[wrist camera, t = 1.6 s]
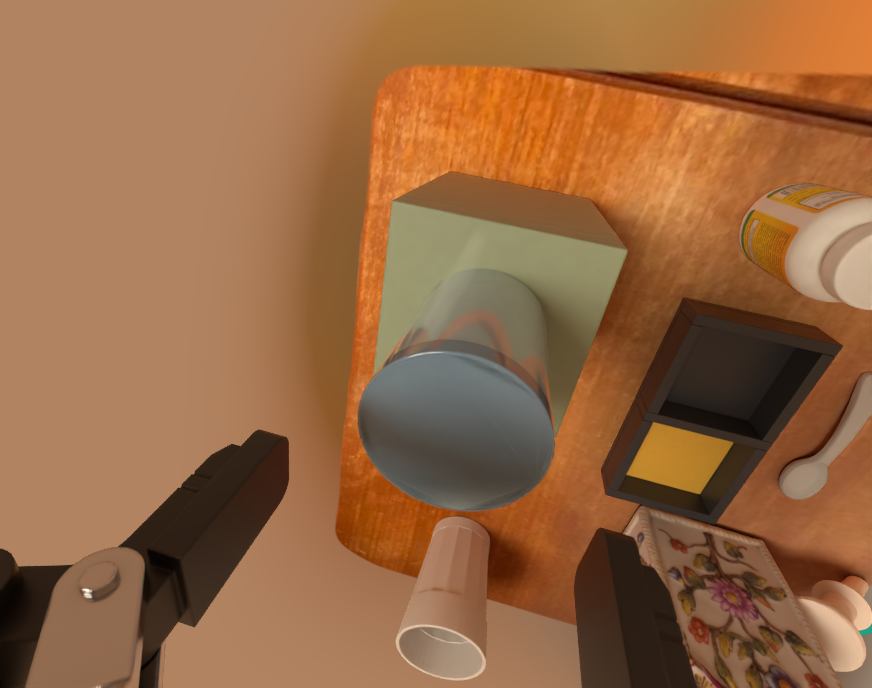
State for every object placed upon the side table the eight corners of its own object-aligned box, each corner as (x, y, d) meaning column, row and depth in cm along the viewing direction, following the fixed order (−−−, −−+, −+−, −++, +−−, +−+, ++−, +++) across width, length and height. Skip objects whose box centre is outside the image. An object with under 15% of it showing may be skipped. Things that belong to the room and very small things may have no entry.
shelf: (450, 171, 30) (391, 199, 18) (590, 199, 29) (629, 250, 17) (428, 298, 35) (371, 390, 23) (549, 327, 34) (555, 438, 22)
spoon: (764, 483, 36) (777, 500, 35) (847, 362, 31) (866, 374, 30) (801, 493, 36) (815, 510, 34) (889, 372, 31) (912, 385, 29)
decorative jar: (591, 573, 45) (619, 810, 29) (636, 499, 40) (702, 744, 24) (705, 610, 44) (798, 876, 28) (768, 539, 38) (928, 823, 23)
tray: (683, 297, 31) (697, 313, 28) (816, 326, 30) (843, 346, 27) (600, 469, 39) (605, 495, 36) (702, 497, 38) (714, 525, 35)
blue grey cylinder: (428, 254, 19) (364, 328, 12) (565, 284, 18) (584, 382, 11) (410, 368, 22) (350, 482, 15) (528, 398, 21) (524, 532, 14)
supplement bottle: (792, 163, 26) (914, 180, 18) (854, 217, 26) (1001, 258, 18) (716, 234, 29) (791, 278, 20) (773, 282, 29) (869, 344, 21)
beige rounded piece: (842, 602, 32) (882, 552, 37) (765, 593, 36) (811, 549, 41) (879, 681, 30) (914, 616, 36) (795, 662, 35) (838, 607, 40)
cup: (493, 568, 48) (481, 689, 38) (425, 552, 50) (395, 666, 39) (501, 519, 45) (490, 639, 34) (428, 504, 46) (395, 615, 35)
